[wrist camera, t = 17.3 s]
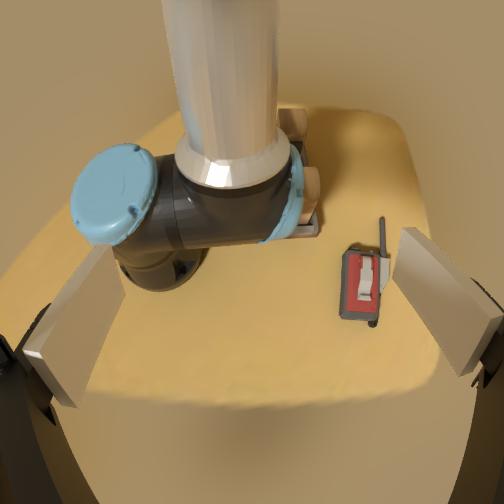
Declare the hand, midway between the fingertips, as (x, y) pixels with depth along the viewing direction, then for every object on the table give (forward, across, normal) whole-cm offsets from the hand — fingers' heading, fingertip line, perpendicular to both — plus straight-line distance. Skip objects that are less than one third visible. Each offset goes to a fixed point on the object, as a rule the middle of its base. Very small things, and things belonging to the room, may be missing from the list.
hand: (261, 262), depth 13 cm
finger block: (+36, +8, -12) cm, 39 cm away
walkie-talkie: (+30, +20, -21) cm, 42 cm away
